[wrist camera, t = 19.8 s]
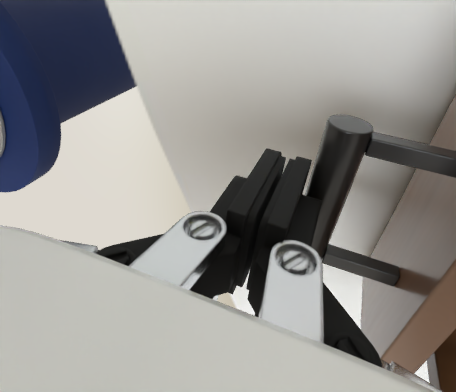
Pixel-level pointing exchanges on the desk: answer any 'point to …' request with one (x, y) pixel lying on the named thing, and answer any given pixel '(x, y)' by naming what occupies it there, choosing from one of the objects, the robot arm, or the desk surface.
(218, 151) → the desk surface
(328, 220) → the drawer
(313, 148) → the desk surface
